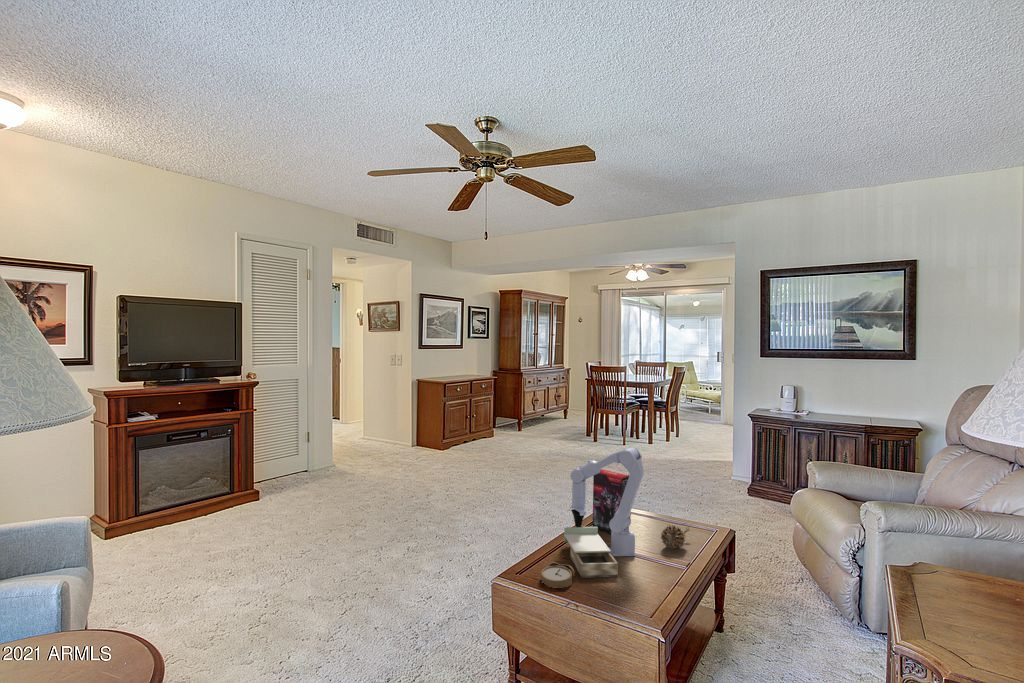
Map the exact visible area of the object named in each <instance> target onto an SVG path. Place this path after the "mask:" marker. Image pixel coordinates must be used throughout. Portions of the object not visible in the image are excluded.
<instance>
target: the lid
mask: <svg viewBox="0 0 1024 683" xmlns="http://www.w3.org/2000/svg"><path fill="white" fill-rule="evenodd" d="M563 530H564V531H563V543H569V545H570V548H571V547H572V549H573V551H574V552H575V553H595V552H611V550H610V549H609V548H610V547H608V545H607V544H606V543H605V541H604V540H603V538H602V537H601V536H600V535H599V532H598V531H599V529H598V527H592V526H581V527H576V526H568V527H567V526H565V527H564V528H563Z"/></svg>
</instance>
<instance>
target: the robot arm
mask: <svg viewBox="0 0 1024 683" xmlns="http://www.w3.org/2000/svg"><path fill="white" fill-rule="evenodd" d="M613 463H616V464H621V466H623V467H624V468H625V469H626V470H627V472H628V473H629V478H628V481H627V484H626V487H625V490H624V493H623V496H622V499H621V502H620V505H619V508H618V510H617V511H616V513H615V515H614V517H613V518H612V519H611V520H610V523H609V526H610V529H611V533H610V534H611V537H610V547H608V548H609V549H610V550H611V552H610V553H611V555H612V556H613V557H635V556H636V537H635V533H634V531H633V530H630V525H631V523H632V519H631V517H632V508H633V505H634V502H635V500H636V496H637V494H638V492H639V489H640V485H641V481H642V480H643V477H644V472H645V471H644V466H643V460H642V455H641V452H640V450H638V449H637V448H636V447H634V446H631V447H630V446H629V447H628V448H625V449H621V450H618V451H615V452H613V453H610V454H609V455H608V456H606V457H604V458H602V459H600V460H598V461H597V460H591V459H590V460H588V461H587V463H585V464H583V465H579V466H578V467H577V468H575V469H573V470H572V471H571V473H570V480H571V481H572V486H571V487H572V488H571V489H572V491H571V492H572V496H571V498H572V499H571V505H569V509H571V512H572V517H573V519H574V520H573V521H574V525H575V526H574V527H582V524H583V520H584V517H585V516H586V507H587V506H586V481H587V479H590V478H591V477H593V476H594V475H596V474H598V473H600V470H601V469H604V468H605V467H607V466H609V465H611V464H613ZM628 527H629V529H628Z"/></svg>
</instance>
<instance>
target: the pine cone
mask: <svg viewBox="0 0 1024 683" xmlns="http://www.w3.org/2000/svg"><path fill="white" fill-rule="evenodd" d="M668 525H669V526H668ZM668 525H666V527H664V528H662V531H660V535H661V536H660V540H661V543H663V545H665V547H666V548H668V549H672V550H673V549H679V548H681V546H683V545H684V543H685V541H686V539H685V538H686V535H685V534H687V533H688V532H691V529H690V527H689V526H686V527H685V528H684V530H682V529H681V528H680V527H676V525H670V524H668Z"/></svg>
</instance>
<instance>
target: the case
mask: <svg viewBox="0 0 1024 683" xmlns="http://www.w3.org/2000/svg"><path fill="white" fill-rule="evenodd" d="M569 554H570V556H569V557H570V560H571V562H572V564H573V566H574V567H575V569H576V570H577V573H578V574H579V577H580V578H581V579H583V578H585V579H586V578H589V579H590V578H617V577H619V562H618V561H617V560H616V558H615V556H613V555H612V554H611V553H610V552H595V553H575V552H574V551H573V549H572V547H571V546H570V553H569Z"/></svg>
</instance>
